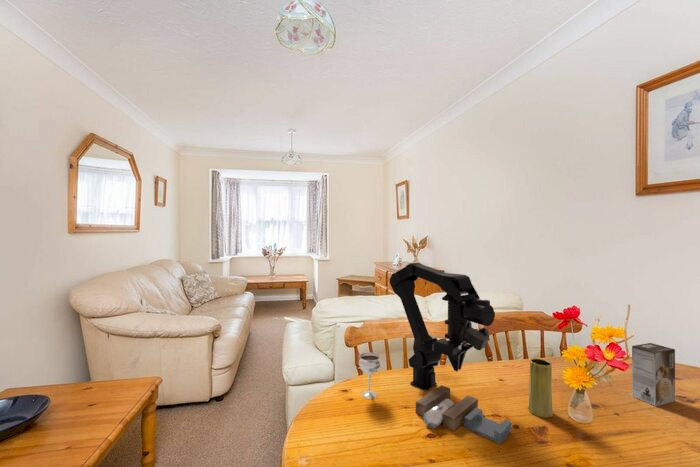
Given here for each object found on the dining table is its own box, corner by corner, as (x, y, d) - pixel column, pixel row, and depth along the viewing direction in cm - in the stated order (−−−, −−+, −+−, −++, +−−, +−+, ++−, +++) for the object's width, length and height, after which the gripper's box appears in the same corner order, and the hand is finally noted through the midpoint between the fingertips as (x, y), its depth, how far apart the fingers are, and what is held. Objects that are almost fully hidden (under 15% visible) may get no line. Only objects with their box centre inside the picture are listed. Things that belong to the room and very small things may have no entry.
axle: (434, 432, 82) (438, 420, 81) (421, 420, 85) (426, 408, 84) (453, 416, 89) (457, 405, 88) (440, 406, 92) (445, 395, 91)
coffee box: (650, 392, 102) (650, 342, 102) (675, 402, 96) (676, 349, 96) (631, 396, 99) (631, 345, 99) (656, 407, 93) (656, 352, 93)
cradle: (464, 427, 83) (464, 417, 83) (476, 416, 88) (476, 407, 88) (501, 444, 77) (501, 433, 76) (511, 431, 81) (511, 421, 81)
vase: (556, 419, 87) (557, 367, 87) (532, 416, 88) (532, 365, 88) (547, 407, 93) (548, 358, 93) (524, 405, 94) (525, 356, 94)
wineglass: (355, 397, 98) (355, 358, 98) (362, 387, 104) (363, 351, 104) (376, 402, 95) (376, 362, 95) (382, 391, 101) (383, 354, 101)
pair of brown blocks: (415, 412, 90) (415, 401, 90) (441, 395, 99) (441, 385, 99) (453, 431, 81) (453, 418, 81) (477, 410, 91) (477, 399, 91)
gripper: (469, 330, 82) (469, 390, 82) (498, 317, 95) (497, 369, 95) (431, 321, 90) (431, 376, 90) (462, 310, 103) (462, 358, 103)
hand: (457, 370), depth 95 cm, fingers closed
